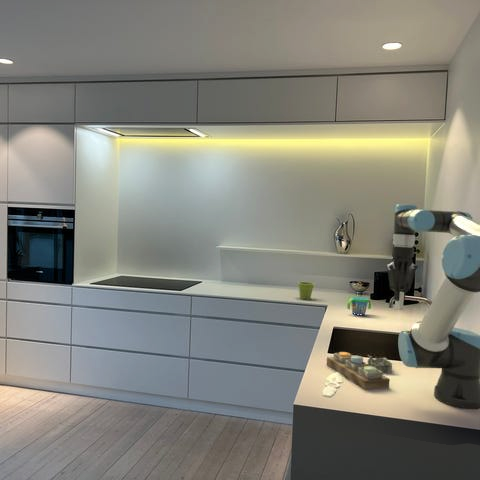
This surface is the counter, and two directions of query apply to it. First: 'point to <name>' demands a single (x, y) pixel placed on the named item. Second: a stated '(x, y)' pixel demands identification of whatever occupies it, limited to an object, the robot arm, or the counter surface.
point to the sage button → (370, 369)
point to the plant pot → (305, 290)
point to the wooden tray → (358, 373)
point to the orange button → (344, 354)
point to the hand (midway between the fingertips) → (398, 309)
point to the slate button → (356, 360)
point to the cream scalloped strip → (328, 389)
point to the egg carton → (380, 364)
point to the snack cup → (359, 305)
